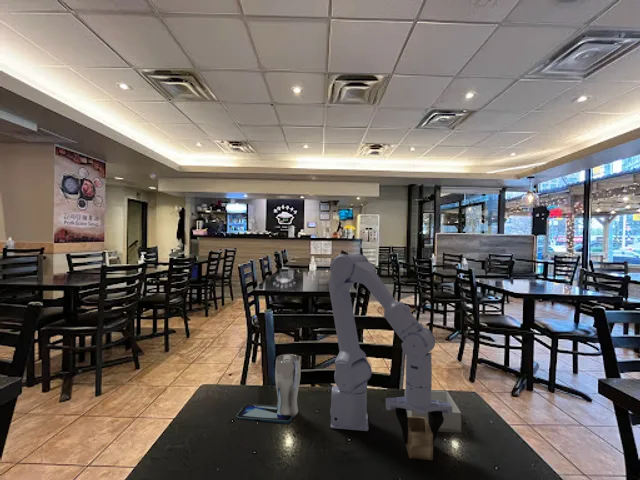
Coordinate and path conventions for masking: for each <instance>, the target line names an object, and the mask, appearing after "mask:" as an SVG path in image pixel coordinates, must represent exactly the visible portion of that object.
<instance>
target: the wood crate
mask: <svg viewBox="0 0 640 480" xmlns="http://www.w3.org/2000/svg"><path fill="white" fill-rule="evenodd" d="M407 417H408V426H407V436H408V443H407V444H405V447H406V452H407V454H408V458H409V459H417V460H426V461H433V460H434V444H433V433H432V431H431V428H430V426H429V424H428V421H427V419H426V417H415V416H408V415H407Z"/></svg>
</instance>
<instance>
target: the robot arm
mask: <svg viewBox="0 0 640 480" xmlns="http://www.w3.org/2000/svg"><path fill="white" fill-rule="evenodd" d="M329 269H330V277H329V282H328V291H329V296H330V303H331V308H332V314H333V320H334V326H335V327H334V328H335V331H336V337H337V345H338V351H339V353H338V354H337V357H336V358H335V361H334V367H335V370H334V373H333V378H334V382H335V385H332V387H331V399H330V400H331V401H330V402H331V403H330V408H329V409H330V412H329V413H330V414H329V415H330V428H331V429H337V430H351V431H360V432H362V431H363V432H368V431H369V417H368V412H367V411H368V410H367V408H368V407H367V403H368V402H367V397H368V394H367V393H368V390H367V389H368V381H369V380H370V379H371V376H372V374H373V373H372V372H373V371H372V366H371V364H370V363H369V361H368V358H367V355H366V352H364V350H362V349H361V348H360V341H359V336H358V331H357V325H356V321H355V314H354V309H353V304H352V303H353V302H352V298H351V297H352V296H351V293H350V290H351V289H352V287H353V286H354V284H355V283H357V284H362V285H364V286H365V287H366V289H367V290H368V291H369V292H370V294H371V295H372V296H373V297H374V298H375V299H376V301H378V303H379V304H380V305H381V306H382V308H383V310H384V312H383V317H384V319H386V321H387V323H388V324H389V325H390V326H391V328H392V329H393V331H394V332H395V334H397V336H398V338H399V339H400V340H401V341H402V342H401V349H402V351H403V352H404V354H405V388H406V391H405V390H404V396H400V397H386V398H385V409H386V410H387V411H392V410H394V412H395V415H396V419H397V421H398V423H399V424H400V425H399V426H400V428H401V432H402V440H403V443H404V445H406V444H407V443H408V436H407V426H408V417H407V416H408V415H407V411H406V410H411V411H416V412H417V413H418V414H426V412H428V424H429V426H430V428H431V431H432V433H433V445H435V440H436V436H437V433H438V432H439V431H438V430H439V428H440V426H441V425H442V424H443V421H444V417H443V415H442V413H447V414H448V415H452V405H451V404H450V402H443V401H438V400H433V399H431V392H432V390H433V389H432V387H433V386H432V384H433V383H432V381H433V378H432V375H433V373H432V372H433V371H432V370H433V368H432V367H433V364H432V355H433V354H432V350H434V348H435V345H436V339H435V336H434V334H433V333H432V331H431V329H430V328H427V327H426V326H425V327H424V324H422V322H419V321H418V319H417V318H416V317H415V316H414V314H413V313H412V312H411V307H410V306H409V304H405V303H404V302H402V301H397V300H396V299H395V298H394V296H393V294H392V293H391V292H390V291H389V289H388V288H387V286H386V285H385V283H384V282H383V280H382V279H381V278H380V276H379V275H378V273H377V272H376V270H375V267H374V265H373V263H372V262H370V261H369V259H368V258H367V256H366V255H364V254H362V253H358V254H357V253H356V254H345V253H342V254H341V253H340V254H337V255H336V256H335V257H334V259H333V260H332V261H331V262H330V264H329Z"/></svg>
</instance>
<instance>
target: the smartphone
mask: <svg viewBox="0 0 640 480" xmlns="http://www.w3.org/2000/svg"><path fill="white" fill-rule="evenodd" d="M245 405H246V404H245ZM254 405H255V406H256V407H255V406H254ZM243 406H244V405H243ZM276 409H277V405H270V404H269V405H267V404H254V403H253V406H252V405H251V407H250V405H246V407H245V406H244V408H243V407H241V409H240V410H239V411H238V412H237V414H235V415H236V416H235V418H236V417H237V418H239V419H238V420H245V419H247V420H246V421H255V420H260V421H259V422H265V421H267V422H266V423H274V424H275V423H277V424H290V423H291V422H292V420H293V418H294V417H293V415H292V416H280V415H278V414H277V413H276ZM237 418H236V419H237Z"/></svg>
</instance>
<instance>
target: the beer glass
mask: <svg viewBox="0 0 640 480" xmlns="http://www.w3.org/2000/svg"><path fill="white" fill-rule="evenodd" d="M274 370H275V372H274V376H275V378H274V381H275V386H276V387H275V388H276V389H275V390H276V394H277V404H276V406H277V409H276V413H277V414H278V415H280V416H292V415H293V418H295V417H297V415H298V414H299V407H298V393H299V387H300V384H301V383H300V381H301V357H300V356H299V355H296V354H293V353H285V354H280V355H278V356H276V360H275V369H274Z"/></svg>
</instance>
